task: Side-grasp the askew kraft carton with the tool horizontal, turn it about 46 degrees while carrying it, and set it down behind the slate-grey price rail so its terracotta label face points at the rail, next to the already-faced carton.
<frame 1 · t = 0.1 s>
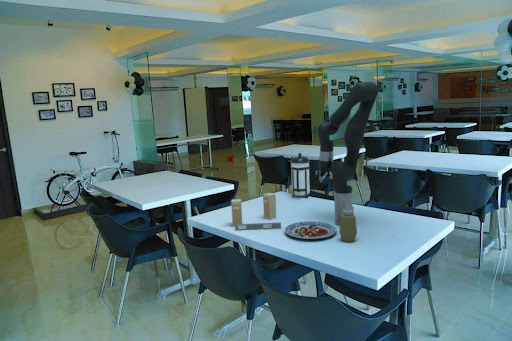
hand: (325, 187, 219), 17 cm above the table, tool pointing down, fingers open, 8 cm apart
price rail: (258, 229, 208), on the table
carton: (270, 217, 227), on the table
squeeze bottle: (348, 240, 187), on the table
ceramic plate: (310, 233, 199), on the table
faced carton: (237, 225, 216), on the table
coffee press: (301, 196, 271), on the table
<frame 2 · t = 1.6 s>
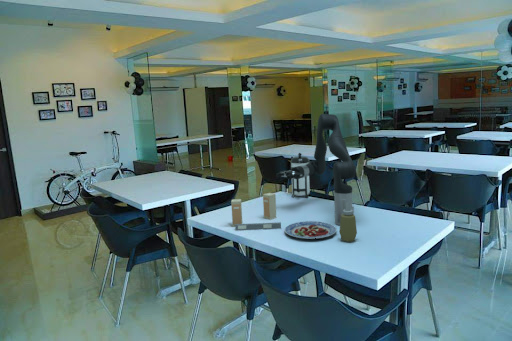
hand: (281, 176, 230), 22 cm above the table, tool horizontal, fingers open, 8 cm apart
nothing on the table moved.
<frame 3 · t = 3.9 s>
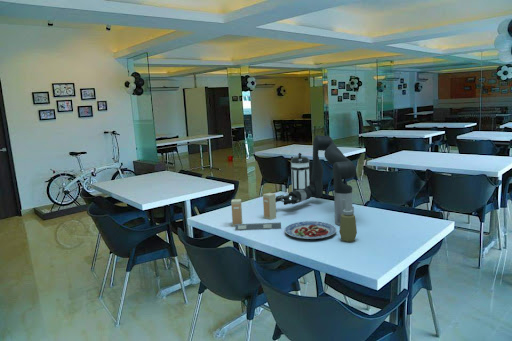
hand: (278, 202, 230), 8 cm above the table, tool horizontal, fingers open, 8 cm apart
nothing on the table moved.
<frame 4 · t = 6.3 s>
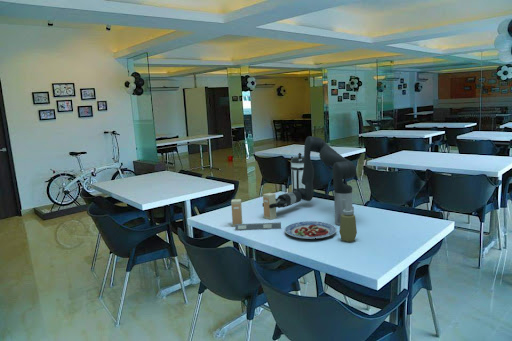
hand: (266, 205, 223), 8 cm above the table, tool horizontal, fingers closed on carton, 5 cm apart
carton: (270, 217, 227), on the table, touching gripper
everything else where it was.
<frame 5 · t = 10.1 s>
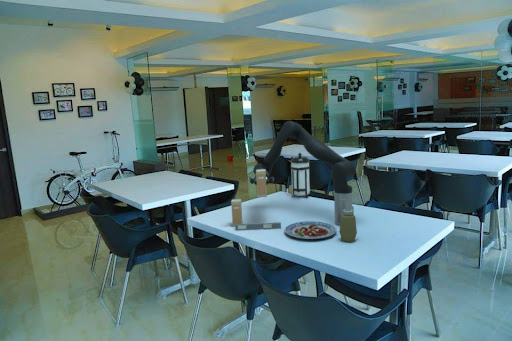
hand: (261, 183, 208), 24 cm above the table, tool horizontal, fingers closed on carton, 5 cm apart
carton: (262, 196, 212), point 16 cm above the table, touching gripper
everything else where it was.
when the fingers open (9 cm above the table, at t = 14.3 s): carton stays where it is, on the table.
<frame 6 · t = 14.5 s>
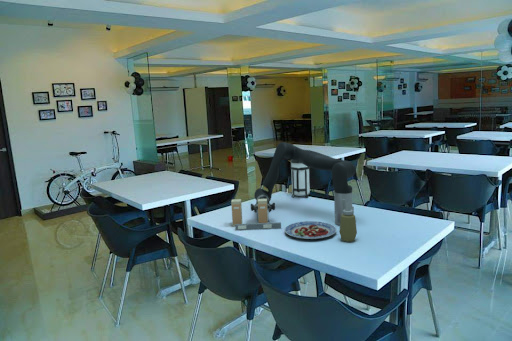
hand: (262, 210, 211), 9 cm above the table, tool horizontal, fingers open, 6 cm apart
carton: (263, 224, 215), on the table
everything else where it was.
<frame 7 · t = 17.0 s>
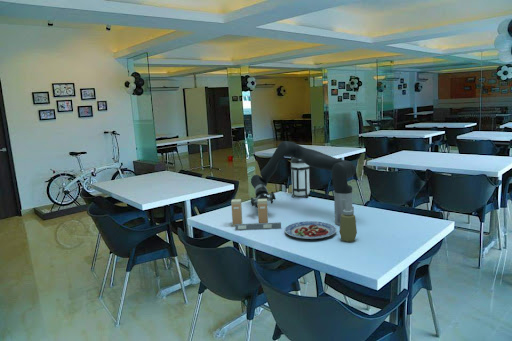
hand: (264, 204, 223), 9 cm above the table, tool horizontal, fingers open, 8 cm apart
nothing on the table moved.
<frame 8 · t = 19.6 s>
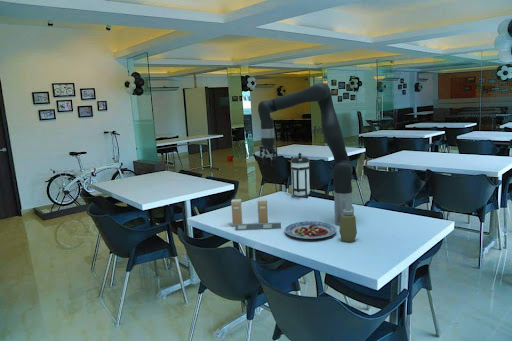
hand: (268, 165, 224), 30 cm above the table, tool pointing down, fingers open, 8 cm apart
nothing on the table moved.
at the end: carton inside the target area (0.0 cm from its centre), on the table; carton tilted 0°; the gripper is holding nothing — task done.
